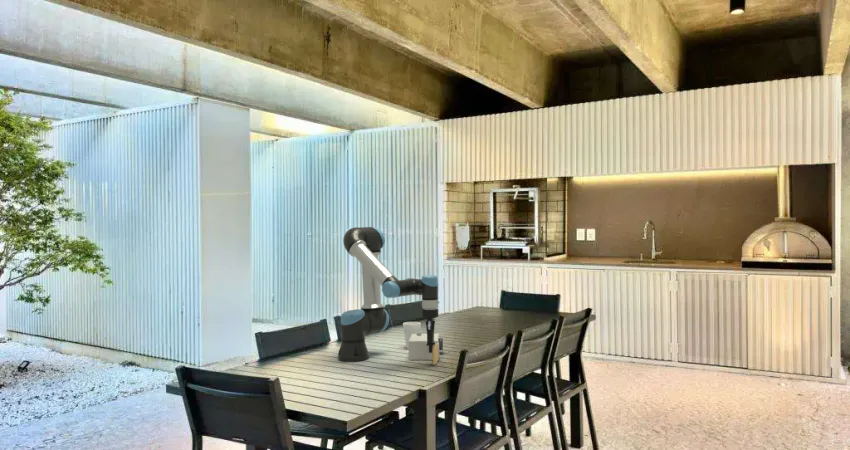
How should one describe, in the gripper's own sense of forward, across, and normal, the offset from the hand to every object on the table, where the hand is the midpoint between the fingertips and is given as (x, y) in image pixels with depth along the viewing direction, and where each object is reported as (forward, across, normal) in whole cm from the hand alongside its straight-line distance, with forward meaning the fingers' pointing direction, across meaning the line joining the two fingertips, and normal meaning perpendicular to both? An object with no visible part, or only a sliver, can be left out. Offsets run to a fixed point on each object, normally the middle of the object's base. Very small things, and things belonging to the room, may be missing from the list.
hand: (430, 359), depth 279 cm
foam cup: (+3, +39, +14) cm, 41 cm away
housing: (+3, +20, +5) cm, 20 cm away
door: (+2, +3, -2) cm, 4 cm away
